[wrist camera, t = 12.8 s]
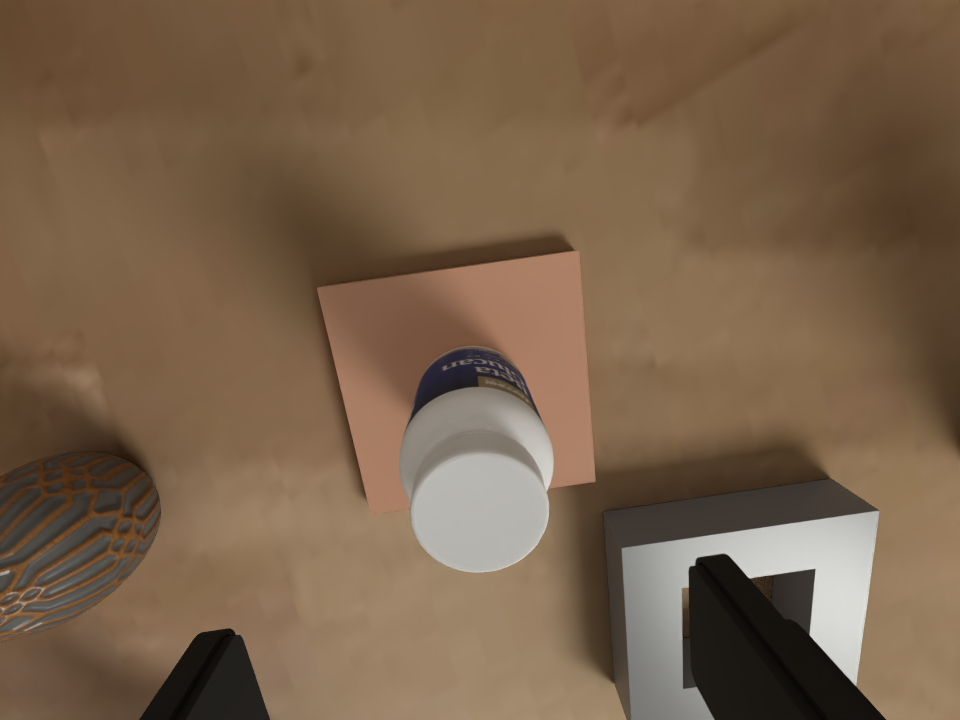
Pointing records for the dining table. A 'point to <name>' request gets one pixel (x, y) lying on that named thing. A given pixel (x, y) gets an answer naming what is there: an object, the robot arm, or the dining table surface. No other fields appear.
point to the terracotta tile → (452, 324)
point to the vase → (70, 536)
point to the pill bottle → (476, 462)
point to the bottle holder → (758, 552)
